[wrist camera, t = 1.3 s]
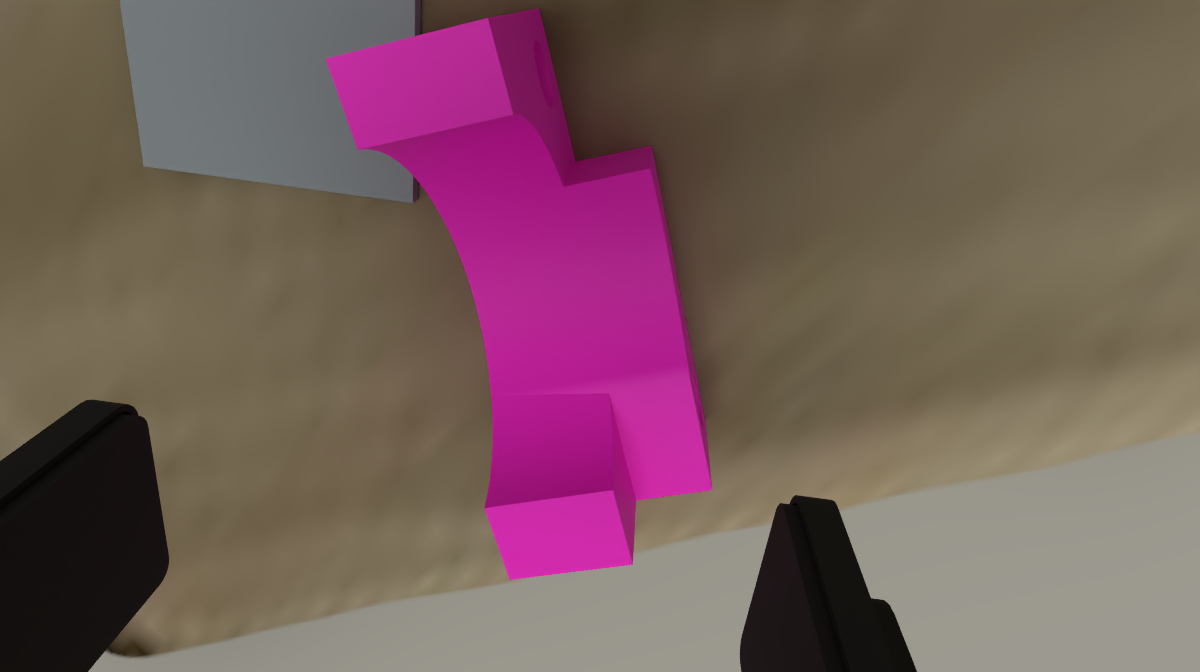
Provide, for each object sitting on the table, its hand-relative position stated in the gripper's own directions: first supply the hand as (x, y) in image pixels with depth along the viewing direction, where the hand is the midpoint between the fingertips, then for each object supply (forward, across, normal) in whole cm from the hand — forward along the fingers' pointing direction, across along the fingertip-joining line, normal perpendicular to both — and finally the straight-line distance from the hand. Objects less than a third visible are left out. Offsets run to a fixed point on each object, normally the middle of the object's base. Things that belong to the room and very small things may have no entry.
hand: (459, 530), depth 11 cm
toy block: (+16, 0, +1) cm, 16 cm away
